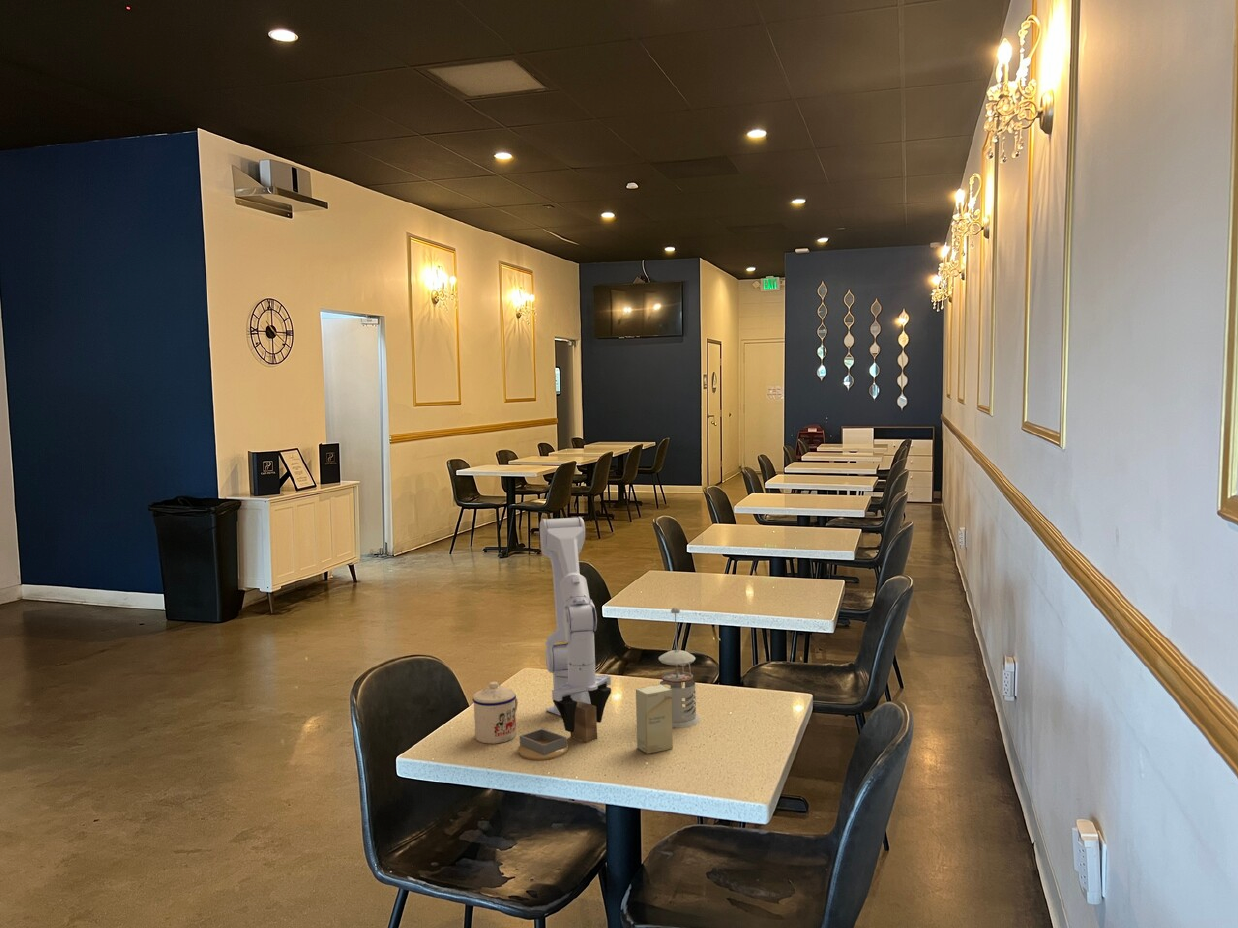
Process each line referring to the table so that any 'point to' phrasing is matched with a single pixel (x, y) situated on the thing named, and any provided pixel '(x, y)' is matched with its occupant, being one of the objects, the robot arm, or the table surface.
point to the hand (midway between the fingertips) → (583, 726)
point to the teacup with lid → (495, 714)
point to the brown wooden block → (585, 722)
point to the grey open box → (542, 745)
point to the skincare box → (654, 718)
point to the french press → (674, 679)
